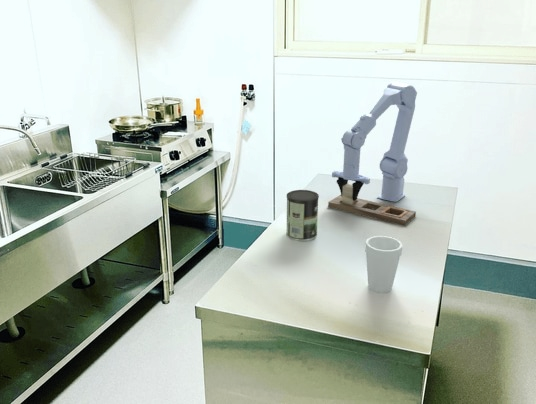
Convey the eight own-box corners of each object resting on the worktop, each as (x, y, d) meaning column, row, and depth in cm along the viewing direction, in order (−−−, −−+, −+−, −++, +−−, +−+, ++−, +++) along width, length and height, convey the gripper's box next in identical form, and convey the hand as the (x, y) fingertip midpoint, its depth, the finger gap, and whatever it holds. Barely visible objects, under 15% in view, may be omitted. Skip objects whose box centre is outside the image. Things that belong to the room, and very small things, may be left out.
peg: (346, 203, 201) (347, 183, 198) (356, 205, 199) (357, 185, 196) (341, 206, 198) (342, 186, 195) (351, 208, 196) (352, 188, 193)
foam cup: (373, 274, 150) (377, 232, 145) (403, 285, 144) (408, 242, 139) (356, 287, 143) (359, 244, 138) (387, 299, 137) (391, 254, 133)
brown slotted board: (340, 199, 205) (341, 193, 205) (415, 216, 189) (416, 211, 188) (328, 206, 198) (328, 201, 197) (404, 225, 182) (405, 220, 181)
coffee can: (316, 228, 179) (317, 189, 174) (318, 241, 170) (319, 200, 164) (285, 228, 179) (286, 189, 174) (285, 241, 170) (286, 200, 165)
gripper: (328, 162, 193) (326, 197, 198) (364, 169, 185) (362, 205, 190) (337, 158, 198) (335, 192, 203) (373, 165, 191) (370, 200, 196)
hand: (349, 198), depth 197 cm, fingers closed on peg, 4 cm apart
